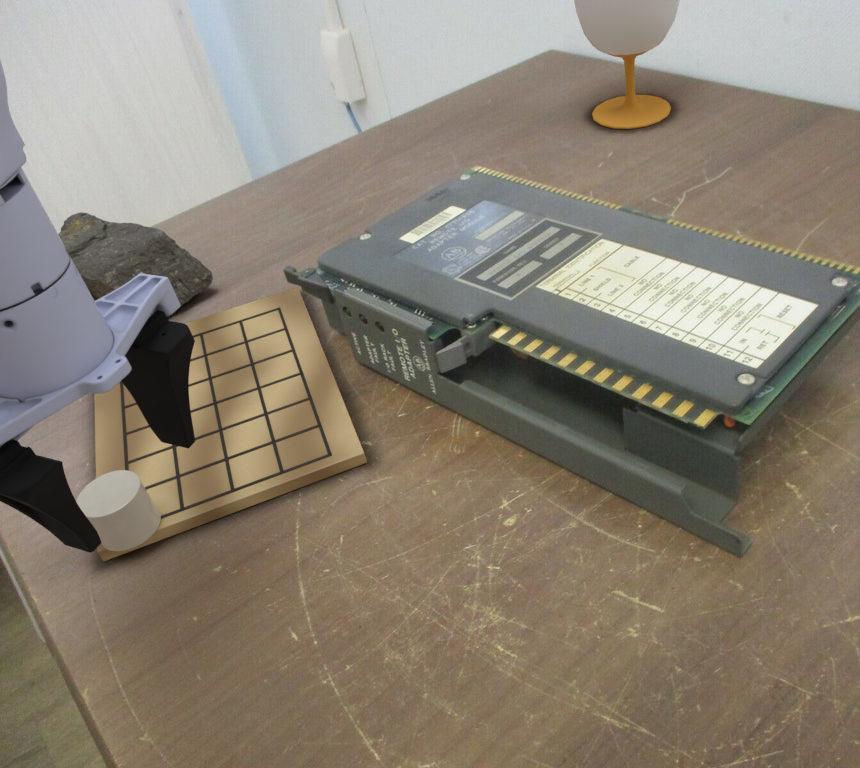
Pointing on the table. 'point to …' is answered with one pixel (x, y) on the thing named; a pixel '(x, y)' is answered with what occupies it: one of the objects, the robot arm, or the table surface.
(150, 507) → the grey short cylinder
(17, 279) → the robot arm
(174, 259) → the rock
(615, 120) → the cup
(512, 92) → the table surface
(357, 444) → the board
